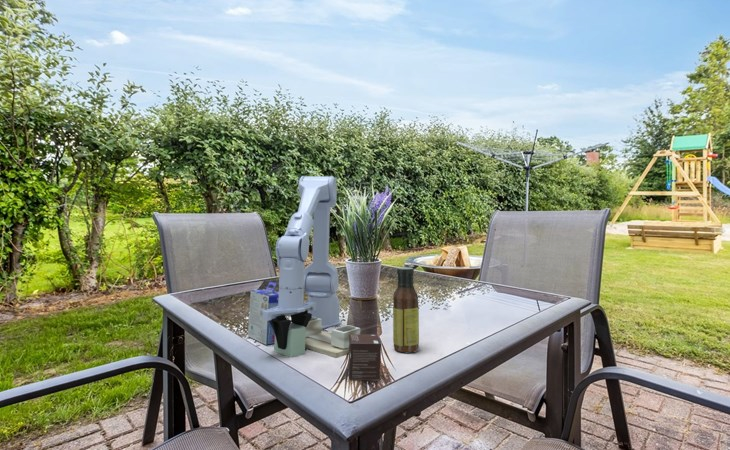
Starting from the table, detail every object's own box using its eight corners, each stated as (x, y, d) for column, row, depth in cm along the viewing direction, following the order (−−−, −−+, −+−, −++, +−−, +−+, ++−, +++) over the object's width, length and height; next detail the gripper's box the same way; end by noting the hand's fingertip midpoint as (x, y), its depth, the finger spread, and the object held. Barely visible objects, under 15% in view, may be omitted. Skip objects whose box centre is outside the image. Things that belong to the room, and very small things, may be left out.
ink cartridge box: (286, 342, 96) (287, 284, 96) (266, 346, 92) (268, 286, 92) (266, 333, 103) (268, 279, 103) (247, 337, 99) (249, 281, 99)
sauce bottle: (420, 347, 94) (423, 267, 94) (415, 355, 88) (418, 270, 88) (395, 344, 96) (397, 265, 96) (388, 351, 90) (391, 268, 90)
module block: (287, 347, 91) (288, 321, 91) (304, 353, 88) (305, 326, 88) (274, 351, 88) (275, 325, 88) (291, 357, 84) (292, 329, 84)
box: (347, 369, 79) (348, 333, 79) (376, 369, 79) (377, 333, 79) (349, 381, 73) (350, 342, 73) (380, 381, 73) (381, 342, 73)
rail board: (317, 333, 104) (317, 314, 104) (366, 346, 94) (366, 325, 94) (286, 342, 95) (286, 321, 95) (336, 357, 85) (336, 334, 85)
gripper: (277, 293, 80) (275, 358, 80) (325, 286, 91) (324, 342, 91) (257, 289, 84) (255, 350, 84) (305, 282, 96) (303, 336, 95)
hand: (289, 346), depth 88 cm, fingers closed on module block, 4 cm apart
